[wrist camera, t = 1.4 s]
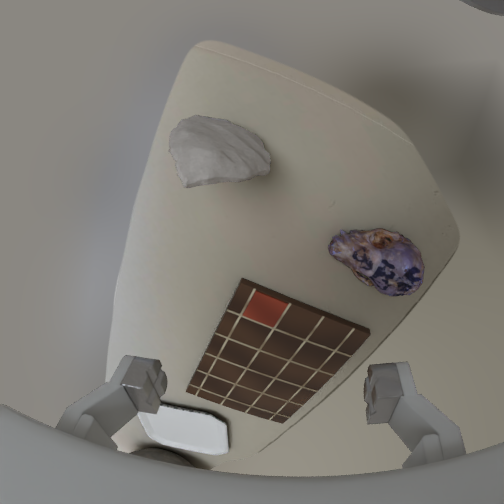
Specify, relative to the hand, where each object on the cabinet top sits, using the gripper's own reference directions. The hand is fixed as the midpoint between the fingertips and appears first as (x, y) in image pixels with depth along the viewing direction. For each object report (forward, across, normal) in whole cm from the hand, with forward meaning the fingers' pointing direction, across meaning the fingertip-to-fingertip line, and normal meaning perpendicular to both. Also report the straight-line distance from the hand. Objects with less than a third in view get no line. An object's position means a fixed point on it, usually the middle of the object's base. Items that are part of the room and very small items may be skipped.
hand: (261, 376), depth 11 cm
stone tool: (+26, +5, -5) cm, 27 cm away
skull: (+26, -11, +9) cm, 30 cm away
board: (+26, +4, +30) cm, 40 cm away
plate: (+26, +24, +53) cm, 64 cm away
